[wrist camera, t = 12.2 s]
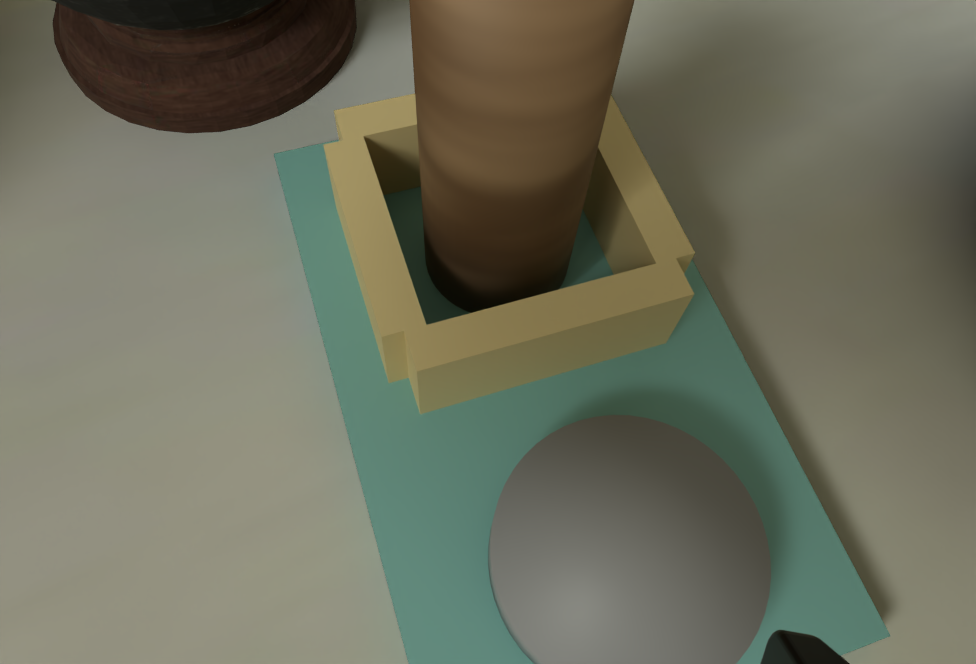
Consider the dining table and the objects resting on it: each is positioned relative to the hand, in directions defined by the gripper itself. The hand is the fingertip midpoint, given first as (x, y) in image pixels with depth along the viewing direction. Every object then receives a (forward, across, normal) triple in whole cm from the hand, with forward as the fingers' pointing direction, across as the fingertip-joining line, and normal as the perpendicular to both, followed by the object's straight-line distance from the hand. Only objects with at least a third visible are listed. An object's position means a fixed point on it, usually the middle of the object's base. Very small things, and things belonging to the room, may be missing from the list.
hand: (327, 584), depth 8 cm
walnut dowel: (+18, -1, 0) cm, 18 cm away
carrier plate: (+16, -2, +3) cm, 16 cm away
